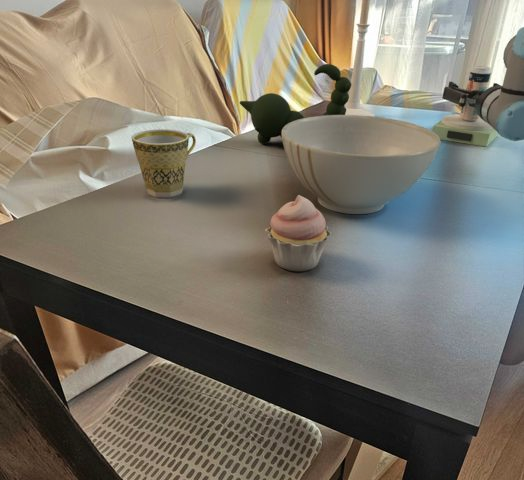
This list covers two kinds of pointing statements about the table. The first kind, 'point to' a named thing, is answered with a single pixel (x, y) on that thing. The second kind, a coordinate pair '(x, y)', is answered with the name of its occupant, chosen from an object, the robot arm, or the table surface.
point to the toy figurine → (279, 113)
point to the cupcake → (298, 235)
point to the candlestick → (358, 67)
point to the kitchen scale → (464, 130)
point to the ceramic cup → (162, 160)
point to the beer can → (476, 82)
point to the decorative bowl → (358, 159)
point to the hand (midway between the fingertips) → (471, 88)
